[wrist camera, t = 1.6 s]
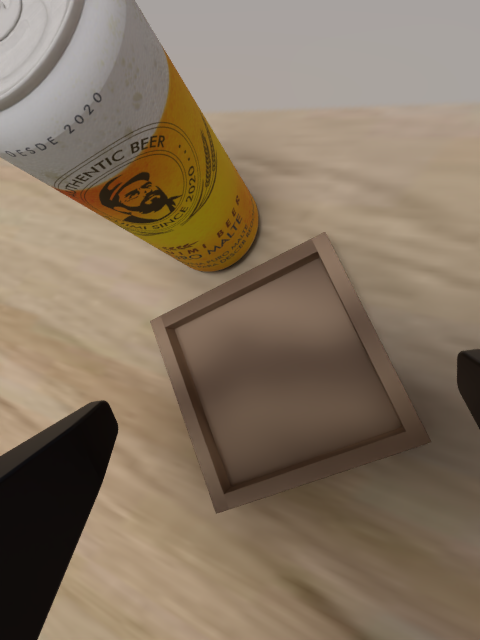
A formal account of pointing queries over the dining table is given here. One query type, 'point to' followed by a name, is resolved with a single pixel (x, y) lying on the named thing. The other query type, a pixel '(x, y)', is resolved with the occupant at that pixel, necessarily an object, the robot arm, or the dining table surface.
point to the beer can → (118, 128)
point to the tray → (284, 378)
